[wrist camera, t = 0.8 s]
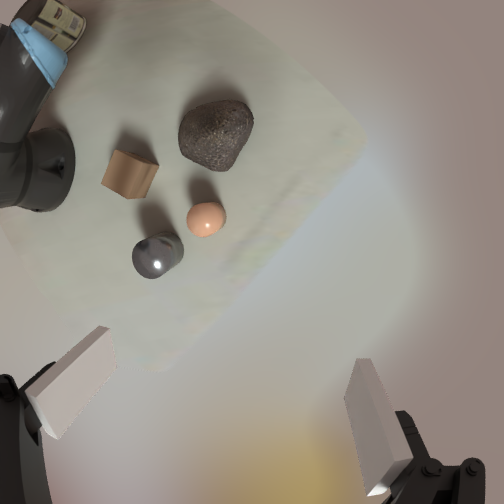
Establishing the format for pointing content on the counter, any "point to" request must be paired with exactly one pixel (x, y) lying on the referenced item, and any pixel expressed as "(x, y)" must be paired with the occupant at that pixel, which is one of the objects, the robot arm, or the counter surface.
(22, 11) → the coffee can
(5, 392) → the robot arm
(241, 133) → the stone
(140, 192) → the walnut block
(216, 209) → the peach rounded capsule
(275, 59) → the counter surface
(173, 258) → the metal tin
